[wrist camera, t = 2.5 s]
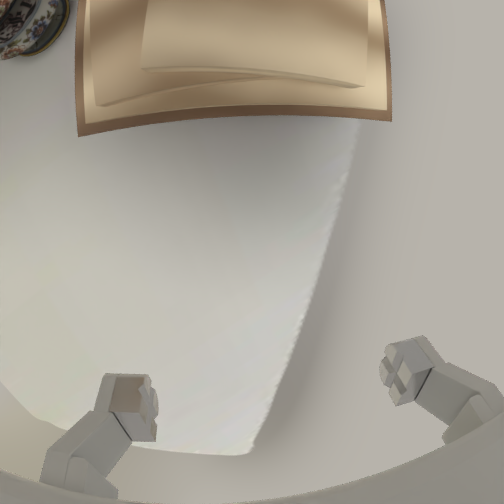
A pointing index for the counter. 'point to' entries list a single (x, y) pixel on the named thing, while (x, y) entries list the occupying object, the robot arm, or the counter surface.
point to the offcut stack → (231, 55)
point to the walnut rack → (219, 110)
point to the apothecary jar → (30, 25)
